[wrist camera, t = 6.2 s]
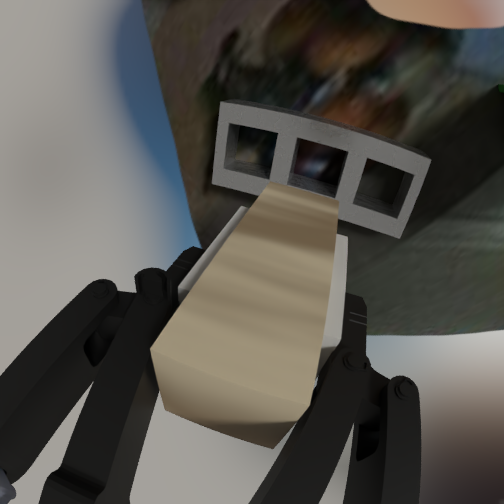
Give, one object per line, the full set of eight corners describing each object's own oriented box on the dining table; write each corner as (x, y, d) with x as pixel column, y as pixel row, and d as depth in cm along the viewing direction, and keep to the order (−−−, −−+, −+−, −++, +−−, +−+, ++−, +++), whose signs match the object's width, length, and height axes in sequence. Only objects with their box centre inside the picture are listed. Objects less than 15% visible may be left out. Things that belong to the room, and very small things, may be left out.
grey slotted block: (233, 99, 31) (220, 101, 28) (422, 150, 28) (431, 159, 25) (224, 173, 37) (211, 183, 34) (395, 222, 34) (399, 238, 30)
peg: (270, 181, 16) (150, 348, 6) (339, 200, 15) (309, 405, 6) (258, 239, 18) (164, 409, 9) (320, 258, 18) (273, 448, 8)
